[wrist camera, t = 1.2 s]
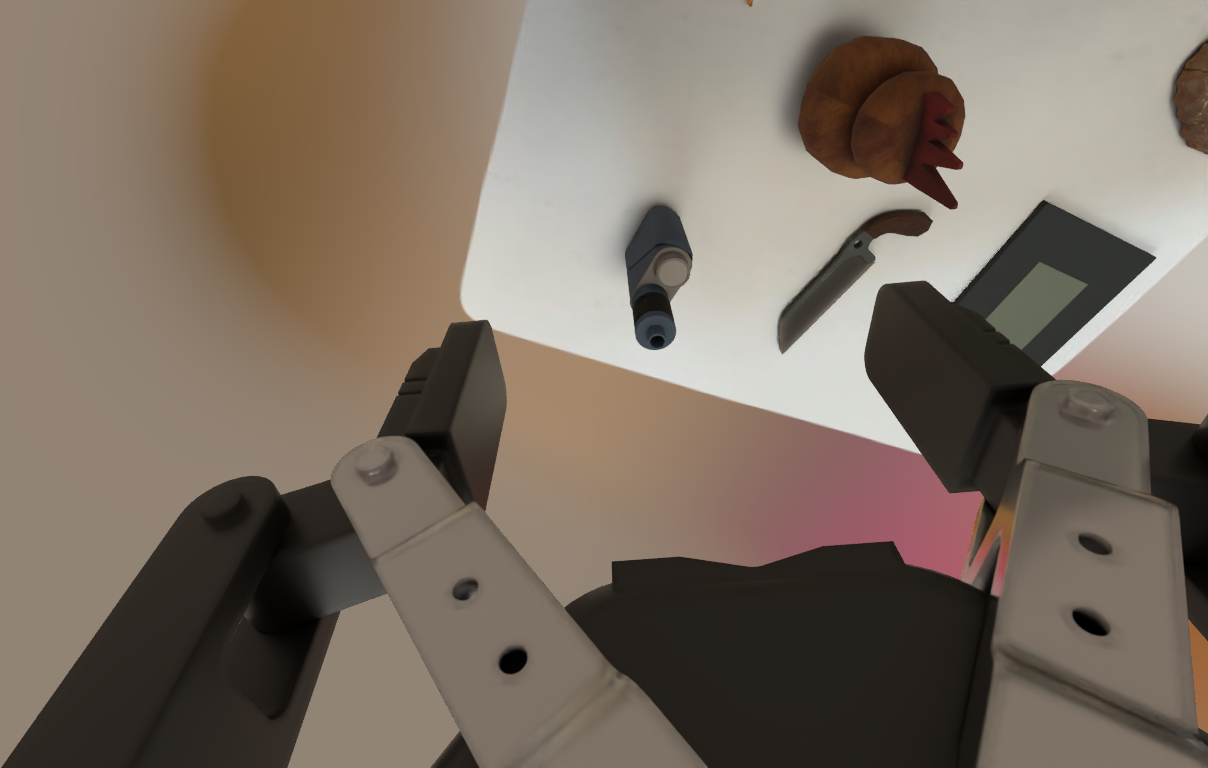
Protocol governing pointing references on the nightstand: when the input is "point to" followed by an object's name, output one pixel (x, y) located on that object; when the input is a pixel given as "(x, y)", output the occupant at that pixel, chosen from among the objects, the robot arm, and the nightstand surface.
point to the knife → (844, 273)
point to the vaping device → (657, 275)
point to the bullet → (749, 2)
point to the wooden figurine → (884, 115)
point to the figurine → (1194, 100)
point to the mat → (1052, 280)
